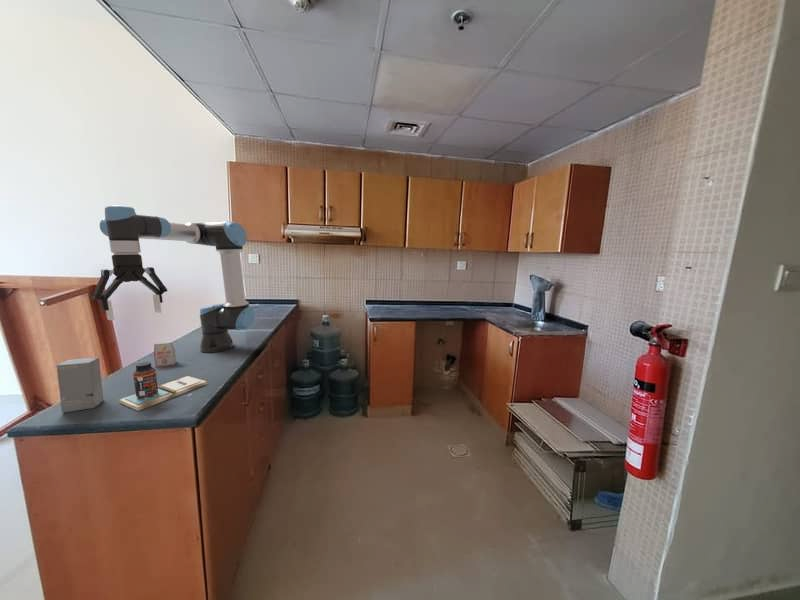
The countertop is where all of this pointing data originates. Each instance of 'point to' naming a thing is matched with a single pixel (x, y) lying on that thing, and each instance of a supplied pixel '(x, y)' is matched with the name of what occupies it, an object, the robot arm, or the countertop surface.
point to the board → (163, 398)
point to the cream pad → (181, 383)
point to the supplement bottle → (145, 380)
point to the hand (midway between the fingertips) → (135, 315)
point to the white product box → (164, 354)
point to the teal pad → (144, 400)
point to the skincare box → (80, 384)
